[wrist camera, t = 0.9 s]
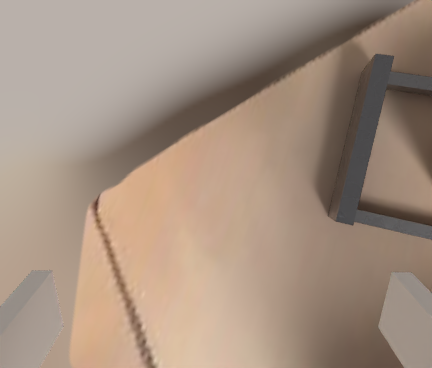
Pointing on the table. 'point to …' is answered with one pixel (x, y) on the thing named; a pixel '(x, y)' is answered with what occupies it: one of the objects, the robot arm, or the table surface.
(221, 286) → the table surface
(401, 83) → the end stop channel
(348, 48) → the table surface
